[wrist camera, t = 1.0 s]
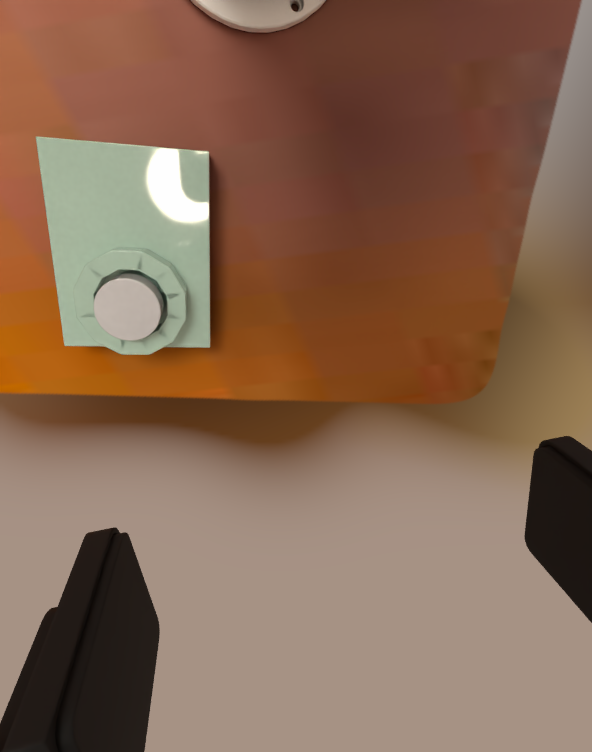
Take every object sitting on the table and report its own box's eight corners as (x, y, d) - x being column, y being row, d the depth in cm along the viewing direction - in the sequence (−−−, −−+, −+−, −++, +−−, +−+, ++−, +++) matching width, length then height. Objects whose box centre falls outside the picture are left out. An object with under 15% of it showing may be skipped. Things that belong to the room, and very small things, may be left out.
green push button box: (53, 141, 29) (23, 133, 25) (209, 154, 31) (208, 149, 26) (77, 332, 34) (55, 355, 30) (210, 334, 36) (209, 356, 31)
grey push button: (97, 271, 28) (89, 277, 27) (162, 274, 29) (159, 279, 27) (103, 332, 30) (96, 340, 28) (165, 333, 30) (162, 341, 29)
